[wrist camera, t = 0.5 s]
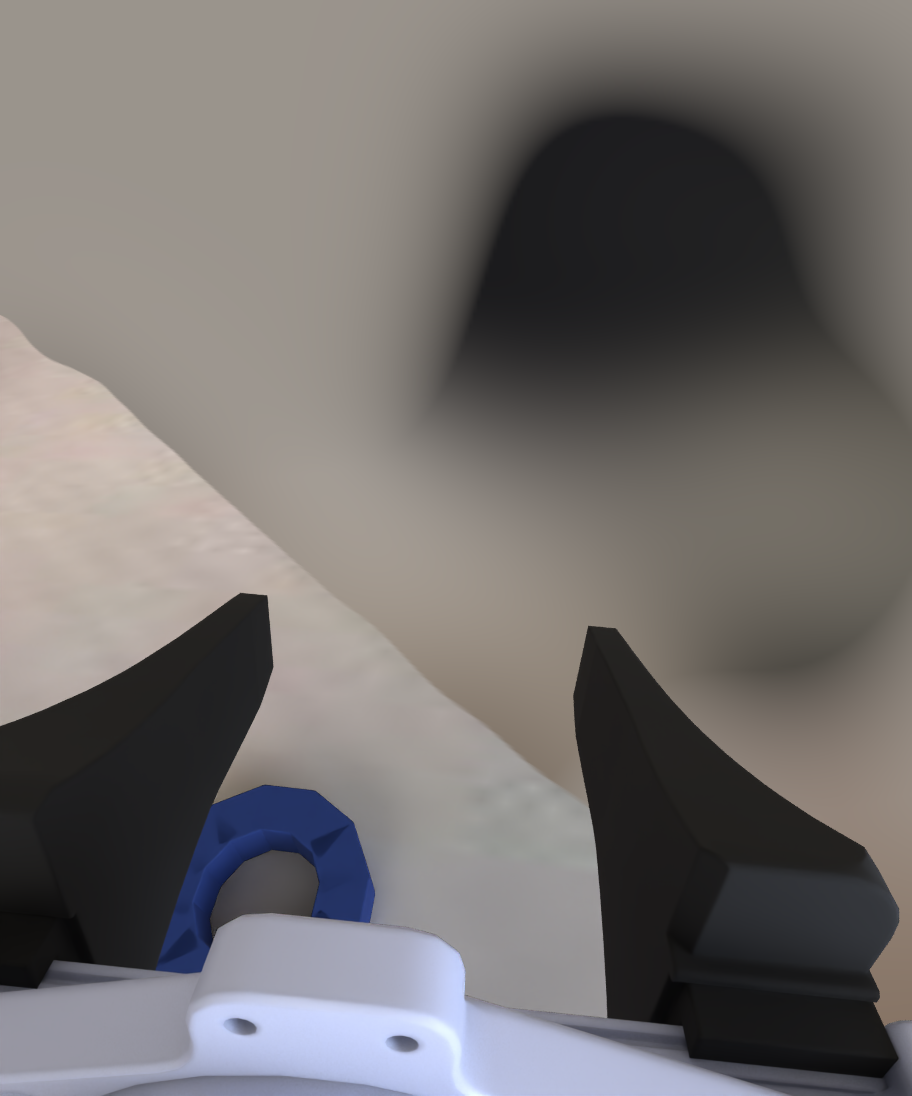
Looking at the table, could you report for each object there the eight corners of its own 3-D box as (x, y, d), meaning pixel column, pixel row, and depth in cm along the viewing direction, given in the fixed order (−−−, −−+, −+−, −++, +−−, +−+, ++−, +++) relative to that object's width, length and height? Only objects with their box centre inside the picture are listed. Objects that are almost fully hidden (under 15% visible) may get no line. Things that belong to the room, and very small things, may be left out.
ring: (345, 1053, 24) (336, 1043, 23) (124, 1019, 25) (99, 1007, 23) (389, 819, 31) (385, 798, 29) (210, 798, 31) (195, 775, 30)
